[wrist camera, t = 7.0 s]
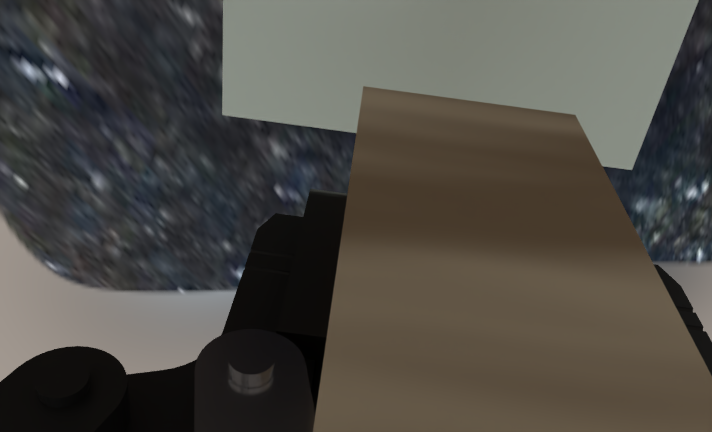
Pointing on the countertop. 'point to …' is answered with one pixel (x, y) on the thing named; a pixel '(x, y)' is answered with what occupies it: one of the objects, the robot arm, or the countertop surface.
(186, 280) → the countertop surface
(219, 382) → the robot arm
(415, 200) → the beech block
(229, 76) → the flat grey rectangular slab
